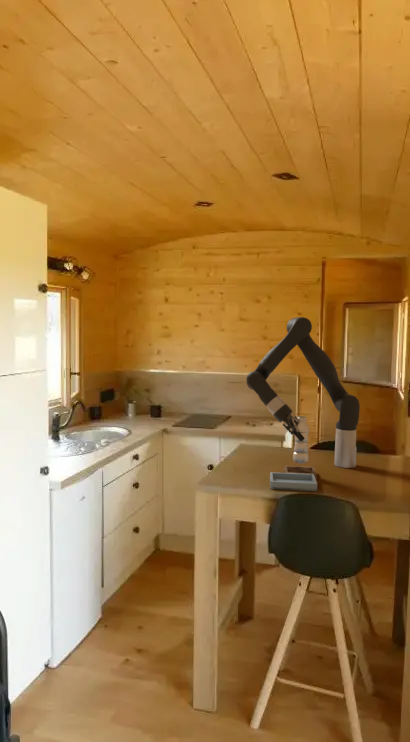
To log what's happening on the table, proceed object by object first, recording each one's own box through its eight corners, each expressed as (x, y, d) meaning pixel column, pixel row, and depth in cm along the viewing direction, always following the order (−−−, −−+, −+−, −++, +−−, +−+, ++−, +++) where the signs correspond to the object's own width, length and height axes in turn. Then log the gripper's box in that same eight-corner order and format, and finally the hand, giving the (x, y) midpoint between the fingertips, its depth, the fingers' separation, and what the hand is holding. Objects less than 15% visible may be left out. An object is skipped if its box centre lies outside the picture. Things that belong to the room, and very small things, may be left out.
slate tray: (313, 481, 233) (313, 474, 233) (317, 491, 219) (317, 483, 219) (269, 479, 235) (270, 472, 234) (270, 489, 221) (270, 481, 220)
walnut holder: (313, 472, 247) (314, 467, 246) (316, 480, 235) (316, 474, 235) (283, 471, 248) (284, 465, 248) (285, 478, 236) (285, 472, 236)
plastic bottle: (289, 461, 243) (291, 416, 241) (303, 460, 245) (304, 415, 243) (297, 465, 237) (299, 418, 235) (311, 464, 239) (312, 417, 237)
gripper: (280, 405, 235) (307, 436, 231) (290, 401, 248) (315, 430, 244) (267, 416, 238) (294, 447, 234) (278, 412, 251) (303, 440, 247)
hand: (305, 438), depth 239 cm, fingers closed on plastic bottle, 6 cm apart
